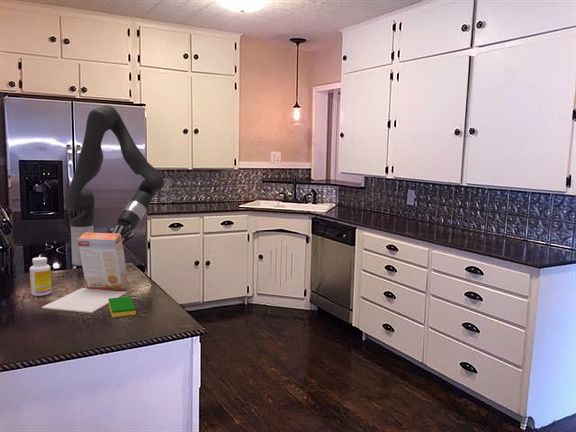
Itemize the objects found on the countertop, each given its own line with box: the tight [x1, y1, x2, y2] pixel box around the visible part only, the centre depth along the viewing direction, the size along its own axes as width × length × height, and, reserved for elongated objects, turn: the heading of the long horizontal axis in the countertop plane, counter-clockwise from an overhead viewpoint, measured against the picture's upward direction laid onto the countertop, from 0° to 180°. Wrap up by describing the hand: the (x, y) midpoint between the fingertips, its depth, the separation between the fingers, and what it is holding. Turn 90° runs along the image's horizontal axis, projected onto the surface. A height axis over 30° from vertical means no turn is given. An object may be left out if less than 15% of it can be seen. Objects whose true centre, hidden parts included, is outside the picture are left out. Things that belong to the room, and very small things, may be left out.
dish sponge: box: [108, 296, 137, 318], centre depth 158 cm, size 7×14×2 cm, turn 25°
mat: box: [41, 287, 128, 314], centre depth 166 cm, size 22×18×1 cm
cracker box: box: [78, 232, 129, 291], centre depth 176 cm, size 14×6×21 cm, turn 84°
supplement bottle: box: [29, 256, 53, 297], centre depth 171 cm, size 7×7×13 cm
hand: (108, 251), depth 179 cm, fingers closed
